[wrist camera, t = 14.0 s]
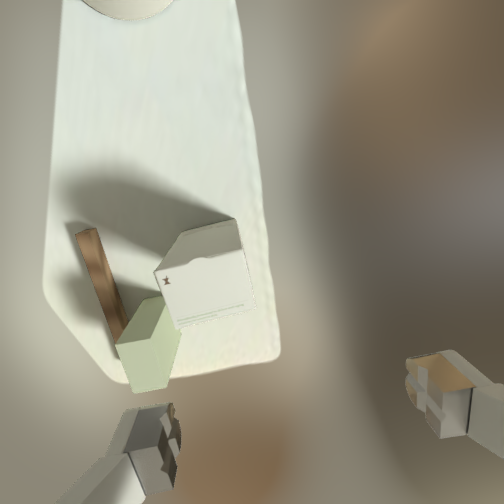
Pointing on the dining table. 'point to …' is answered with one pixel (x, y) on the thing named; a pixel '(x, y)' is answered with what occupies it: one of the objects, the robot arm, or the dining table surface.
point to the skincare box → (206, 275)
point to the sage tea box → (149, 346)
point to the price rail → (103, 281)
